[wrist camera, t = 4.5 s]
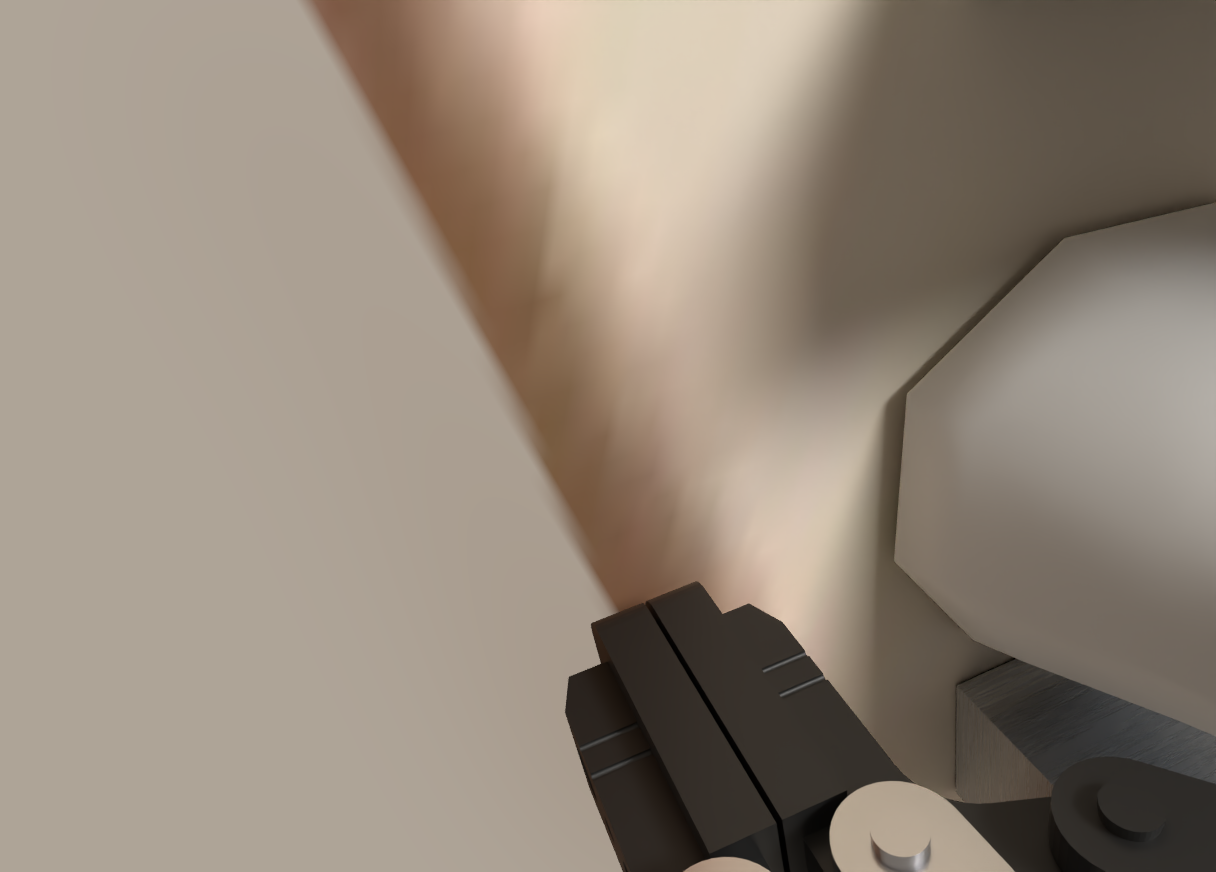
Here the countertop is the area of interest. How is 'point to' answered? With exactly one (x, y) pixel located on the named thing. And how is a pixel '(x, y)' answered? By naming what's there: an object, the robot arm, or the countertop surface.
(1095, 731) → the vise fixed
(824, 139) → the countertop surface
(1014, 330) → the flask
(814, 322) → the countertop surface
